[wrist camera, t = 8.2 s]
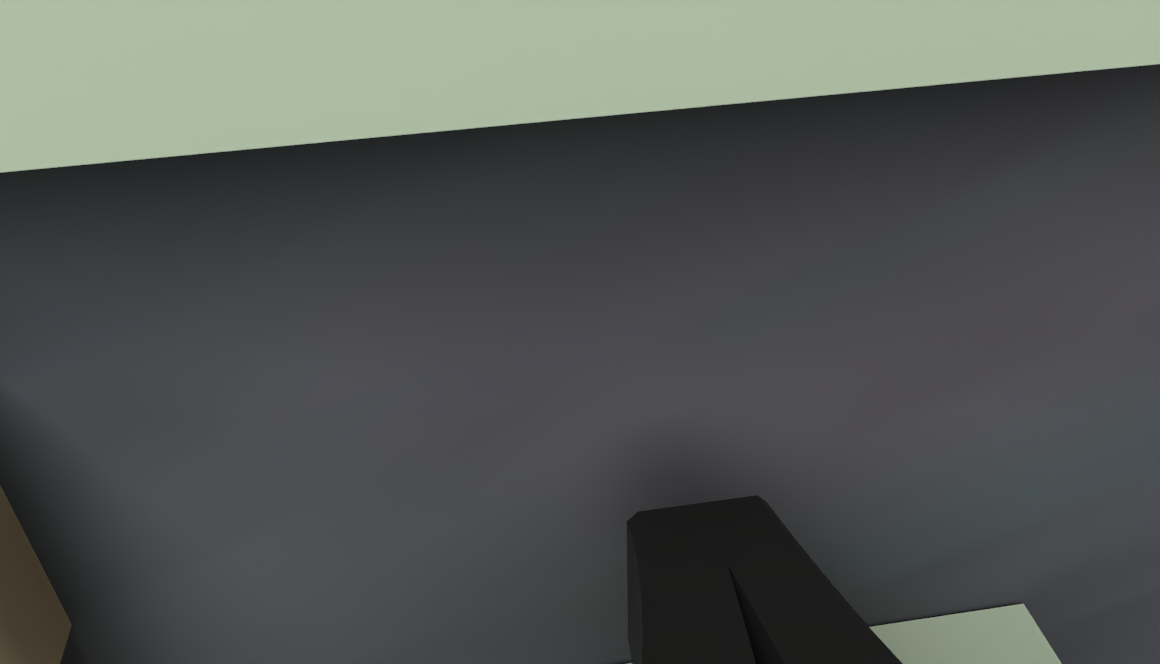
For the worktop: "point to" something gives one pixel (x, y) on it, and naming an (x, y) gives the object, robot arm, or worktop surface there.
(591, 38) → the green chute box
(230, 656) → the worktop surface
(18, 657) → the maple block
